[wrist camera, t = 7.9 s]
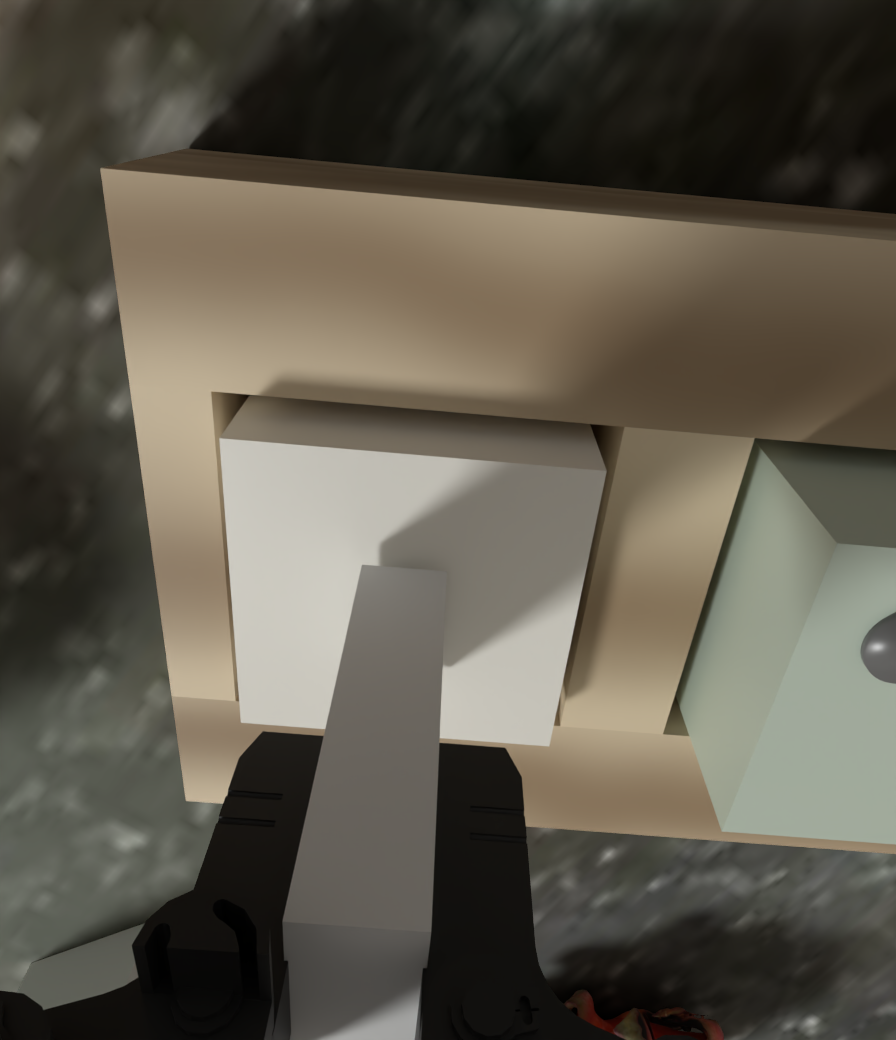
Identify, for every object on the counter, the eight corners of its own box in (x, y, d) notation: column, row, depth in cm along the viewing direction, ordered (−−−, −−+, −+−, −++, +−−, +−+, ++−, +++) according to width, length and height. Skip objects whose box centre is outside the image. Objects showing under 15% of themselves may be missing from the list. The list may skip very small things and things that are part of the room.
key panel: (186, 148, 15) (100, 167, 11) (1615, 280, 15) (1950, 337, 12) (230, 686, 22) (186, 800, 18) (1212, 763, 22) (1349, 887, 19)
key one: (273, 361, 16) (216, 442, 12) (576, 387, 16) (607, 474, 12) (282, 606, 19) (239, 727, 15) (534, 626, 19) (549, 751, 16)
